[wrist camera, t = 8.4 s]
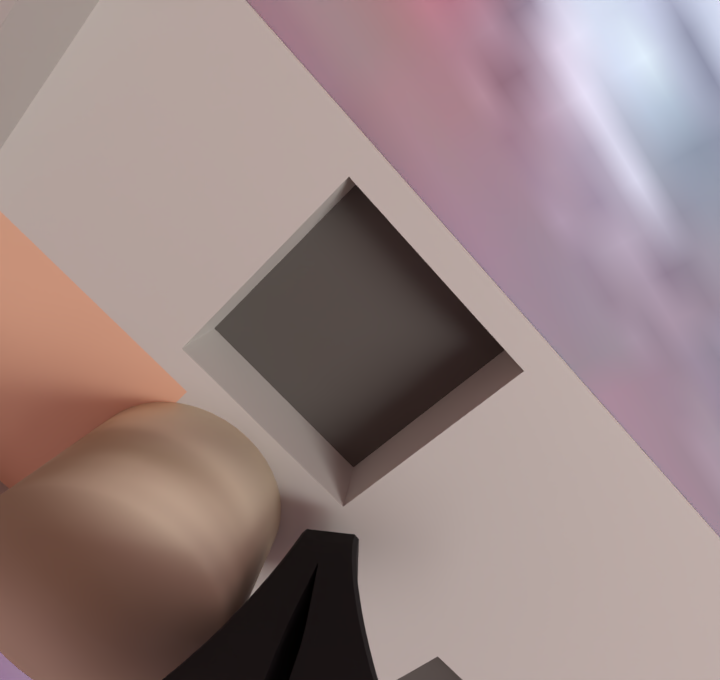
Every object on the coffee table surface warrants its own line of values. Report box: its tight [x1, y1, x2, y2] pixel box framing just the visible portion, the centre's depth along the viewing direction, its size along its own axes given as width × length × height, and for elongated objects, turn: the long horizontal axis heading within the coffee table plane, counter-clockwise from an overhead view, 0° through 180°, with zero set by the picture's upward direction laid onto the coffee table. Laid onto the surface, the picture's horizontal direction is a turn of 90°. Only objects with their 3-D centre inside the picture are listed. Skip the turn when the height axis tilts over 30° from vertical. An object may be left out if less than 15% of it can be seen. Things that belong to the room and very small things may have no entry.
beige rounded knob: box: [0, 402, 281, 680], centre depth 11 cm, size 5×5×4 cm
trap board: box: [0, 0, 720, 680], centre depth 12 cm, size 14×24×4 cm, turn 44°
